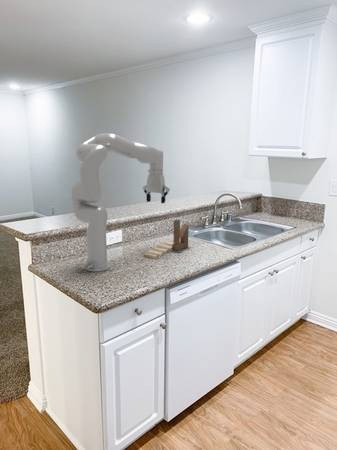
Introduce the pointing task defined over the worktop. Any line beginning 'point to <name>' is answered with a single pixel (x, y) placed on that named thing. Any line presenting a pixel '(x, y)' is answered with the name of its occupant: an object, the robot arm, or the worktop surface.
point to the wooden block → (180, 236)
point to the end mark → (179, 250)
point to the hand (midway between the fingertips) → (155, 202)
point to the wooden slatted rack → (159, 250)
